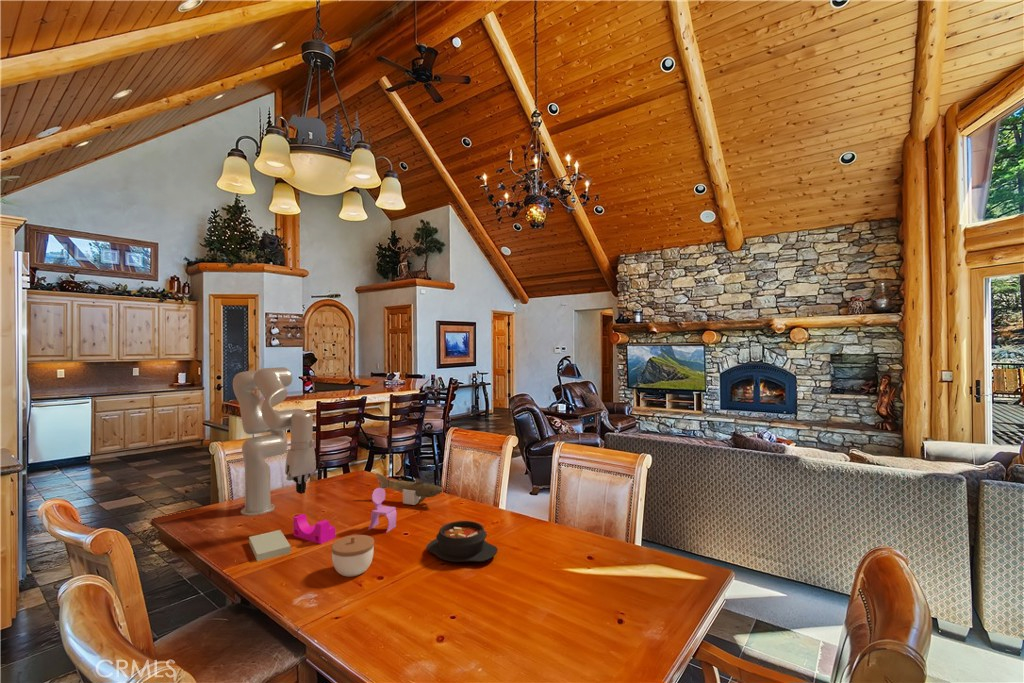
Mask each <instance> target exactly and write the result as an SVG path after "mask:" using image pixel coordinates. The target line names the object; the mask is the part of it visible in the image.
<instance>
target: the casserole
mask: <svg viewBox="0 0 1024 683" xmlns="http://www.w3.org/2000/svg"><path fill="white" fill-rule="evenodd" d="M487 536H488V534H487V531H486V529H484V526H483V525H482V524H480V523H478V522H477V521H471V520H460V521H458V520H457V521H453V522H449V523H446V524H444V525H443V526H442V527H440V529H439V530H438V533H437V534H436V537H435V538H434V539H433V540H431V541H430V542H429V543H428V544H427V545H426V550H427V551H428V552H430V553H432V554H434V555H435V556H436V557H438V558H439V559H441V560H444V561H447V562H455V563H457V562H459V563H460V562H462V563H463V562H476V563H479V562H480V563H481V562H482V563H483V562H486V561H488V560H490V559H492V558H493V557H495V555H497V553H498V551H499V550H498V549H499V548H498V547H497V546H496V545H494V544H491V543H489V542H487V541H486V540H485V539H486V538H487Z"/></svg>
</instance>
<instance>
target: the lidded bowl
mask: <svg viewBox="0 0 1024 683" xmlns="http://www.w3.org/2000/svg"><path fill="white" fill-rule="evenodd" d="M330 547H331V559H332V565H333V567H334V569H335V571H336V572H337V573H338V574H340V575H341V576H343V577H349V578H351V577H356V576H359V575H362V574H363V573H365V572H366V571H367V569H368V568H369V567H370V565H371V563H372V562H373V558H374V552H375V550H374V547H375V539H374V537H372V536H370V535H366V534H354V535H353V534H352V535H348V536H344V537H342V538H339V539H337V540H336V541H334V542H333V543H332V544H331V546H330Z"/></svg>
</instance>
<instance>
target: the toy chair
mask: <svg viewBox="0 0 1024 683" xmlns="http://www.w3.org/2000/svg"><path fill="white" fill-rule="evenodd" d="M384 500H386V490H385V488H380V487H376V488H375V489H374V490H373V492H372V494H371V502H373V503H374V509H372V510H371V514H370V524H369V527H368V529H367V530H368V531H370V530H371V529H373V528H374V527H376V526H378V525H379V524H380V522H379V518H380V515H381V516H385V517H386V519H387V521H388V526H387V529H386V531H385V533H389V532H390V531H391V530H393V529H394V528H396V527H397V509H396V506H387V505H384V504H382V503H383V502H384Z"/></svg>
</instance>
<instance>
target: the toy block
mask: <svg viewBox="0 0 1024 683" xmlns="http://www.w3.org/2000/svg"><path fill="white" fill-rule="evenodd" d="M292 518H293V521H292V522H293V525H292V527H293V528H292V529H293V533H292V534H293V536H294V537H295V538H300V539H303V540H307V541H309V542H312V543H316V544H319V545H322V544H325V543H327V542H329V541H331V540H333V539H335V538H336V526H333V525H330V521H329V520H327V519H323V520H321V521H318V522H315V524H314V525H310V524H309V522H308V520H307V518H308V517H307V515H306V514H304V513H301V514H298V515H296V516H293V517H292ZM324 542H325V543H324Z"/></svg>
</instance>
